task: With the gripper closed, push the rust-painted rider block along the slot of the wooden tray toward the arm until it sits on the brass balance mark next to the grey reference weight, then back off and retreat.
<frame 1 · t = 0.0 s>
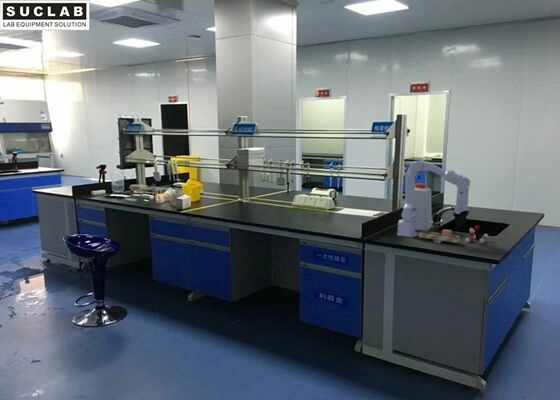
hand: (460, 225, 230), 10 cm above the countertop, fingers open, 7 cm apart
molecular model: (476, 242, 234), on the countertop
wooden tray: (438, 241, 236), on the countertop
plastic bottle: (417, 228, 267), on the countertop
rider: (446, 233, 232), point 5 cm above the countertop, slide at 4.0 cm
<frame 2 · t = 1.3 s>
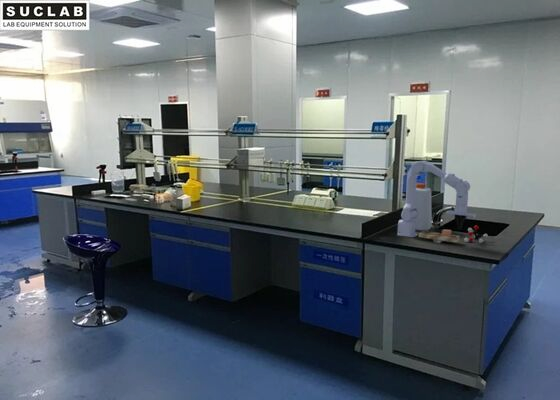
hand: (459, 229, 228), 8 cm above the countertop, fingers closed
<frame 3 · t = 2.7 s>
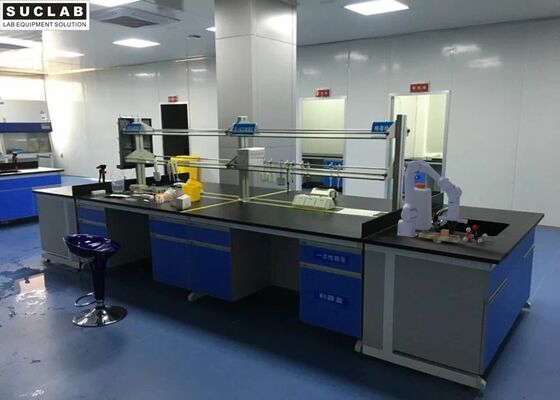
hand: (451, 234, 231), 5 cm above the countertop, fingers closed
rider: (445, 233, 233), point 5 cm above the countertop, slide at 3.4 cm, touching gripper
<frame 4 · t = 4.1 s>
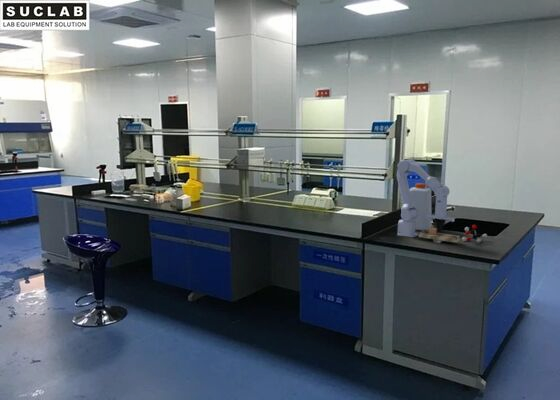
hand: (439, 232, 235), 5 cm above the countertop, fingers closed
rider: (433, 231, 237), point 5 cm above the countertop, slide at -3.1 cm, touching gripper
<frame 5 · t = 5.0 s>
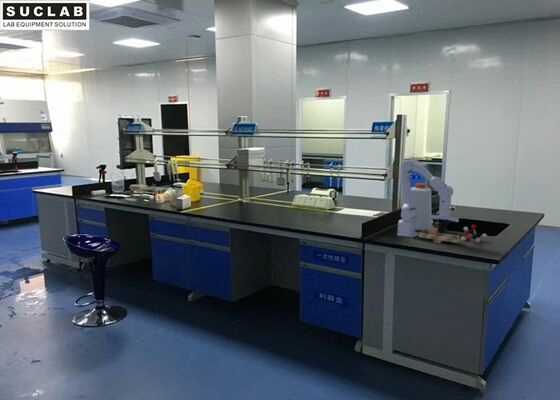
hand: (443, 233, 233), 5 cm above the countertop, fingers closed
rider: (433, 231, 237), point 5 cm above the countertop, slide at -3.2 cm
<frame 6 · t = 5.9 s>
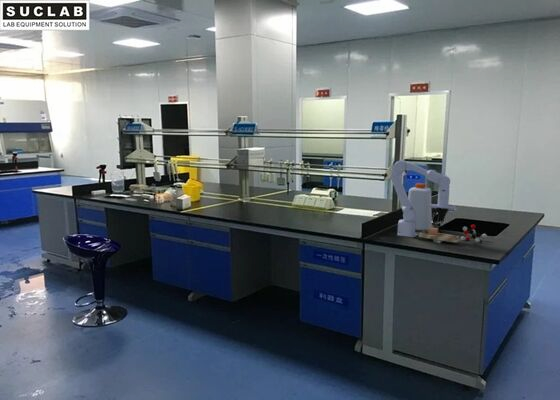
hand: (441, 221, 240), 10 cm above the countertop, fingers closed
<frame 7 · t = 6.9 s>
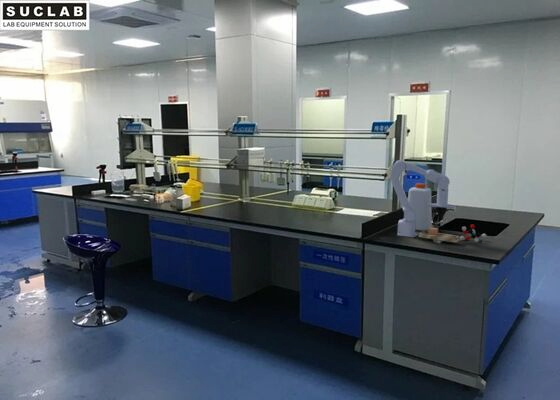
hand: (440, 220, 242), 10 cm above the countertop, fingers closed
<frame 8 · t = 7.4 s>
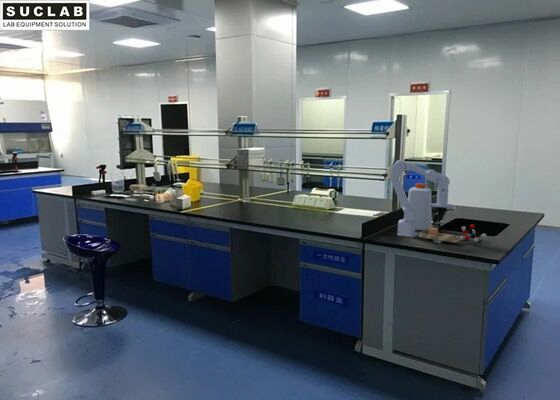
hand: (440, 220, 242), 10 cm above the countertop, fingers closed
at the end: rider slide at -3.2 cm; rider touching nothing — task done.
